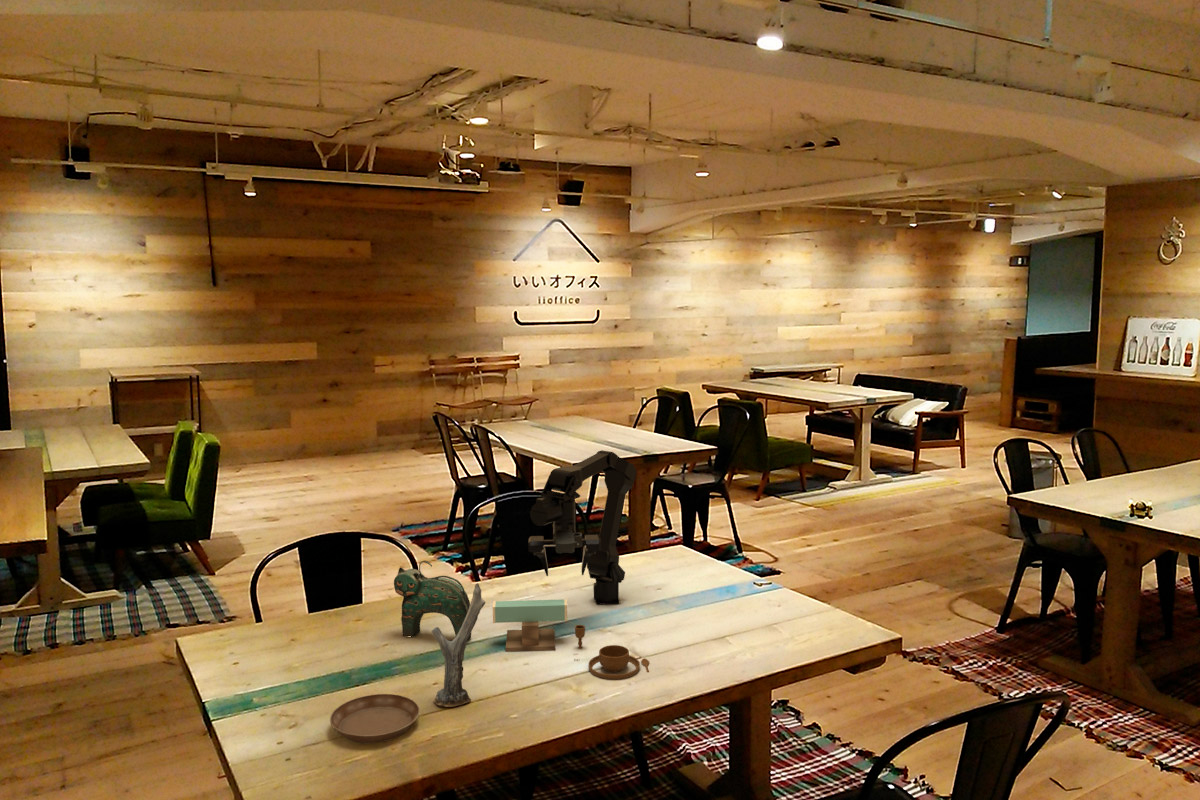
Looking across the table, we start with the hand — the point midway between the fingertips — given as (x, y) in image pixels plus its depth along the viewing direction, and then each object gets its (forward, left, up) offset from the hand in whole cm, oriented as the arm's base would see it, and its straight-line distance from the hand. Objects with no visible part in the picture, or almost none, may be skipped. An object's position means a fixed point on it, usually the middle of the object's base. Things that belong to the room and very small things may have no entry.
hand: (564, 575), depth 240 cm
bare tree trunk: (+24, +42, -13) cm, 50 cm away
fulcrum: (+9, +13, -12) cm, 20 cm away
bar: (+9, +13, -6) cm, 17 cm away
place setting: (-10, +26, -13) cm, 31 cm away
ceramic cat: (+33, +8, -13) cm, 36 cm away
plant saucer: (+40, +53, -13) cm, 68 cm away
